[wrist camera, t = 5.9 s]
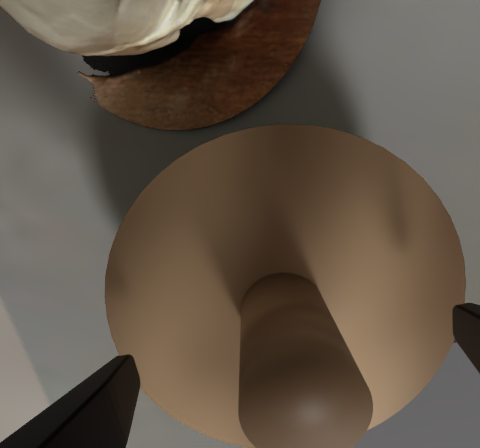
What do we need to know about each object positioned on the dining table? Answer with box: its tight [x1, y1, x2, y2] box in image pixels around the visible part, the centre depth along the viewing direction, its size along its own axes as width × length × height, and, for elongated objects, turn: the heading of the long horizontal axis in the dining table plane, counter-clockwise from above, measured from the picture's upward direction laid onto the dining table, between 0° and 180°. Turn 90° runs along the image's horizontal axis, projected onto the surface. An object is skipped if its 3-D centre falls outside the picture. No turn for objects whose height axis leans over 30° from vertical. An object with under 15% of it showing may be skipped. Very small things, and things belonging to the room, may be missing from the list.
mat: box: [352, 339, 480, 448], centre depth 17 cm, size 12×12×1 cm
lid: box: [105, 124, 466, 448], centre depth 9 cm, size 12×12×5 cm
